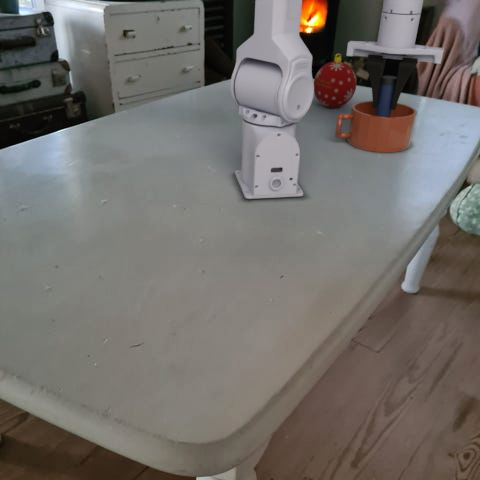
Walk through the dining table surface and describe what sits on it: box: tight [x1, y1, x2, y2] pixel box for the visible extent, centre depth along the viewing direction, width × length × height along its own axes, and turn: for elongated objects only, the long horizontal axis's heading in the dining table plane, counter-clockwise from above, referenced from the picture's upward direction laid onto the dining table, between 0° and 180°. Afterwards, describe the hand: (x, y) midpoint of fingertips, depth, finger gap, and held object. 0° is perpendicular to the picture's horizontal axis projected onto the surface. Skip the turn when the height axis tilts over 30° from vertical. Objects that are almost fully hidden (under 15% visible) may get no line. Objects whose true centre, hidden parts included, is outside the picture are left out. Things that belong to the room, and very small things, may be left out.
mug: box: [334, 100, 418, 153], centre depth 87 cm, size 13×10×6 cm
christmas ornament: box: [313, 53, 357, 109], centre depth 104 cm, size 9×9×10 cm
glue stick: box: [375, 75, 397, 117], centre depth 86 cm, size 2×2×9 cm
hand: (384, 107), depth 86 cm, fingers closed on glue stick, 2 cm apart
